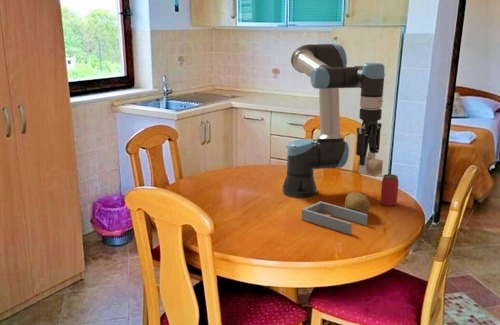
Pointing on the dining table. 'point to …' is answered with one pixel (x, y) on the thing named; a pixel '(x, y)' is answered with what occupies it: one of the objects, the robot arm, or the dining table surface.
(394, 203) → the beer can
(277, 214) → the dining table surface
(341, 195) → the dining table surface
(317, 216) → the u-shaped frame
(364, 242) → the dining table surface
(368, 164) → the block
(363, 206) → the potato
